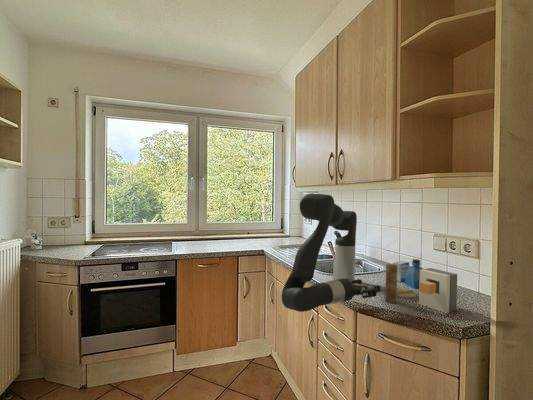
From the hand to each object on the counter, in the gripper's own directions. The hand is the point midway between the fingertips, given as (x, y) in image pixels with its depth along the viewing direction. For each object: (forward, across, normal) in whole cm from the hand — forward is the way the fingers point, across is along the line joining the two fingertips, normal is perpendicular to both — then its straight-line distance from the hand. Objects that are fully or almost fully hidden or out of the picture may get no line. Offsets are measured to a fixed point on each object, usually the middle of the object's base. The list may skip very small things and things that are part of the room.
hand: (370, 285), depth 110 cm
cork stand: (+24, +3, +8) cm, 25 cm away
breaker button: (+16, -12, +2) cm, 20 cm away
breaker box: (+22, -12, +8) cm, 26 cm away
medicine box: (+42, +18, +8) cm, 46 cm away
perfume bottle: (+39, +8, +8) cm, 40 cm away
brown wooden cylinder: (+12, 0, +8) cm, 14 cm away
